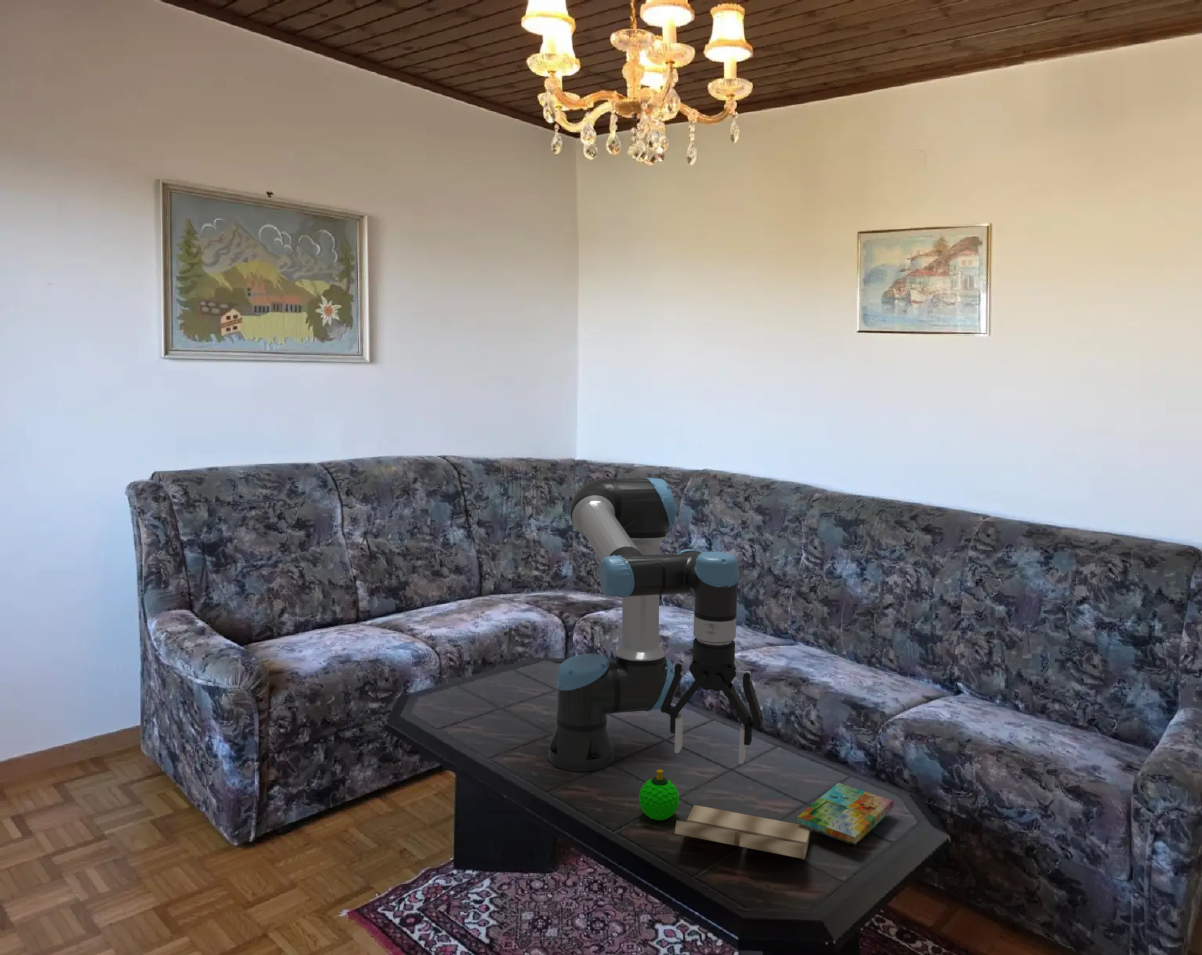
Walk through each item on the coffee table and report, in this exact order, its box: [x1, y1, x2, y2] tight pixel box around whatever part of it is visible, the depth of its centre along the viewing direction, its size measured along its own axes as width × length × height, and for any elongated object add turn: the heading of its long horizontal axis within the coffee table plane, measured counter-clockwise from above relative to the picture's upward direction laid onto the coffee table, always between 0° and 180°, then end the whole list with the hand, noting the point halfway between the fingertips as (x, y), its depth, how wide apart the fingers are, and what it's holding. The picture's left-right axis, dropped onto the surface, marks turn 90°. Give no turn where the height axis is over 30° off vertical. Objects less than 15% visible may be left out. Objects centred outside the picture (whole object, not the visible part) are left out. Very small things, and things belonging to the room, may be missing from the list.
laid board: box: [685, 804, 811, 858], centre depth 172 cm, size 23×7×2 cm, turn 71°
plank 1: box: [674, 819, 741, 847], centre depth 165 cm, size 11×9×2 cm
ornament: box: [638, 769, 680, 821], centre depth 177 cm, size 8×8×10 cm
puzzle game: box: [796, 782, 895, 846], centre depth 175 cm, size 12×5×20 cm
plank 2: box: [738, 833, 807, 860], centre depth 162 cm, size 11×9×2 cm
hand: (709, 755), depth 161 cm, fingers open, 11 cm apart
